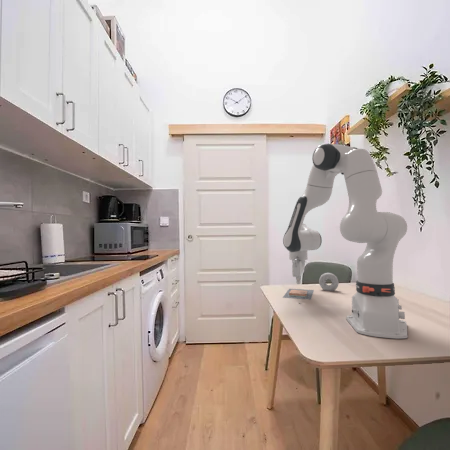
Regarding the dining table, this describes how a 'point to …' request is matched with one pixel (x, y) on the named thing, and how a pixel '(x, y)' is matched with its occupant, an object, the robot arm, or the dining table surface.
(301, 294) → the tile
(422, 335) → the dining table surface
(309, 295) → the mat
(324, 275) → the donut
